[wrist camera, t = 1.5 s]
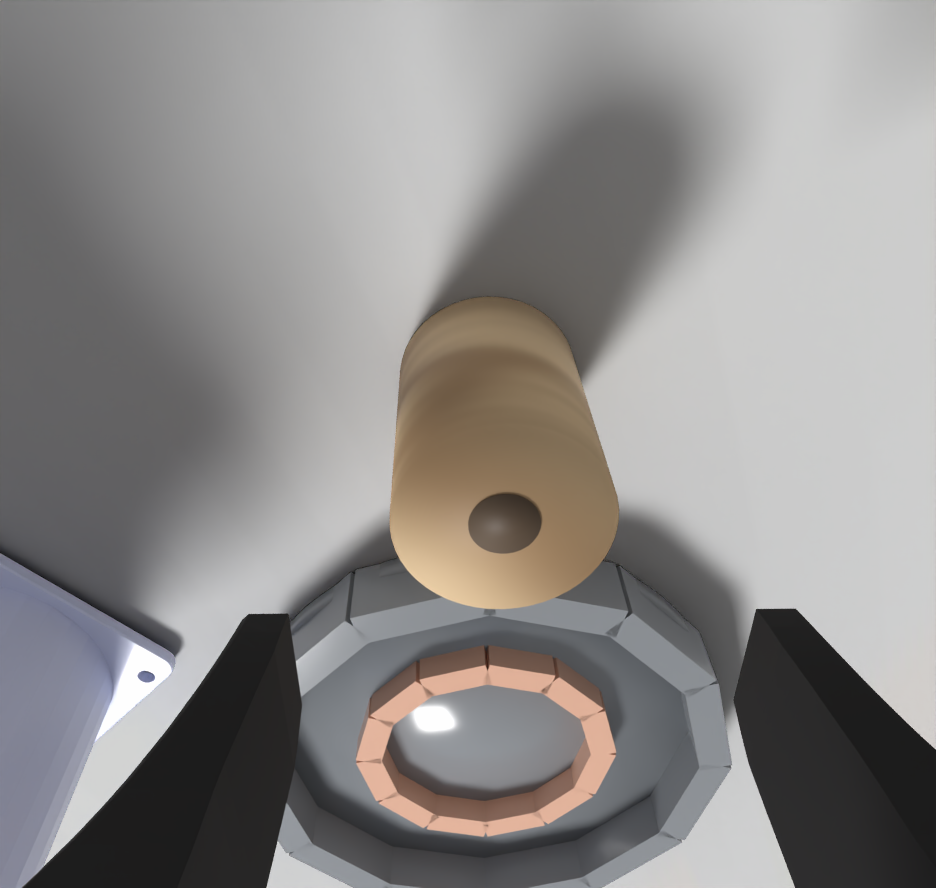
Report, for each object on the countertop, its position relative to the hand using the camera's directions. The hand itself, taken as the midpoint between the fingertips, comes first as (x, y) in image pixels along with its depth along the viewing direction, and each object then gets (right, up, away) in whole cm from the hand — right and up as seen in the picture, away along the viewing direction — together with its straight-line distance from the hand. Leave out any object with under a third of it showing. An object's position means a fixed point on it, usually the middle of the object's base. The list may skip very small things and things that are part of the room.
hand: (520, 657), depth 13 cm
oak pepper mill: (0, +5, +8) cm, 10 cm away
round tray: (0, -6, +15) cm, 16 cm away
